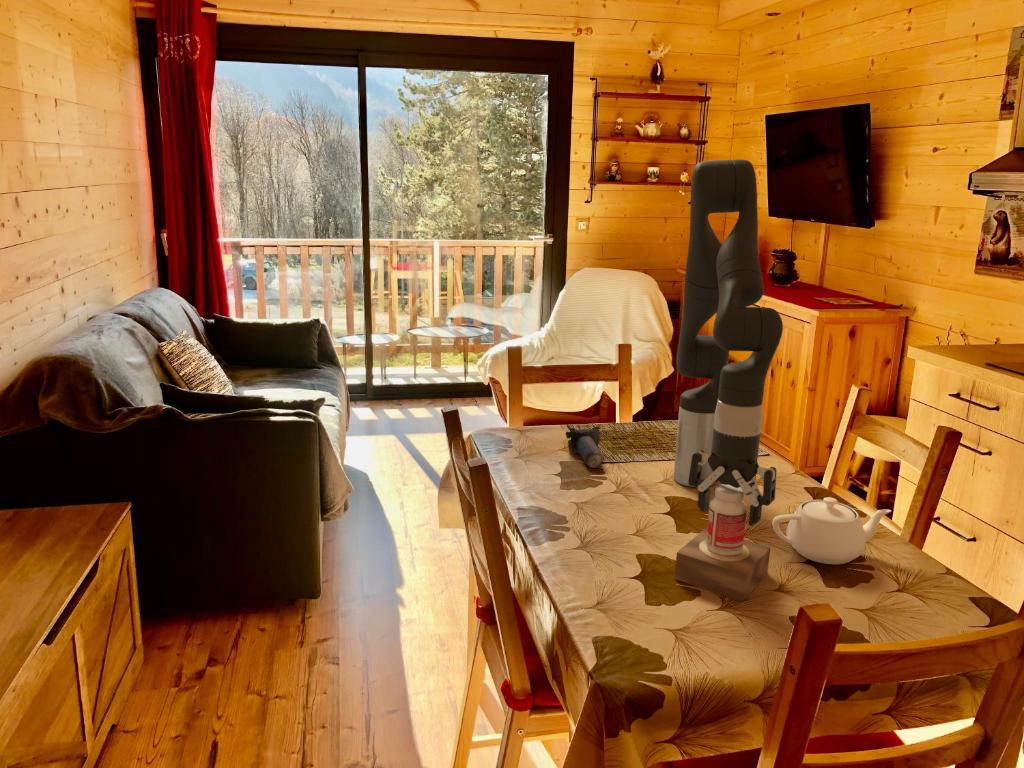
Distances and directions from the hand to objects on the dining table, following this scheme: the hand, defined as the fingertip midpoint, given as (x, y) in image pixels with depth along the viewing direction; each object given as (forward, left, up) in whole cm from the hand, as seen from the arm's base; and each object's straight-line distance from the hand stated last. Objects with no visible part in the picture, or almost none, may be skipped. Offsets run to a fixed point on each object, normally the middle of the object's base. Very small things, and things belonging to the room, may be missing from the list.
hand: (727, 517), depth 137 cm
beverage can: (-34, -47, -12) cm, 59 cm away
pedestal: (0, 0, -11) cm, 11 cm away
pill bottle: (0, 0, -6) cm, 6 cm away
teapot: (-21, +12, -11) cm, 27 cm away
